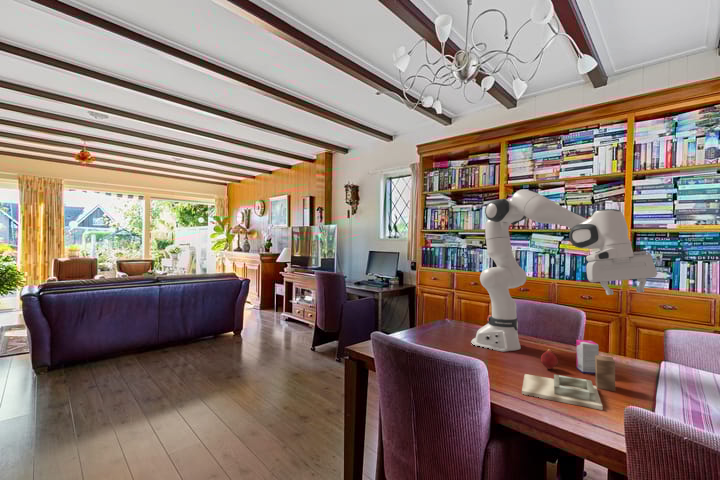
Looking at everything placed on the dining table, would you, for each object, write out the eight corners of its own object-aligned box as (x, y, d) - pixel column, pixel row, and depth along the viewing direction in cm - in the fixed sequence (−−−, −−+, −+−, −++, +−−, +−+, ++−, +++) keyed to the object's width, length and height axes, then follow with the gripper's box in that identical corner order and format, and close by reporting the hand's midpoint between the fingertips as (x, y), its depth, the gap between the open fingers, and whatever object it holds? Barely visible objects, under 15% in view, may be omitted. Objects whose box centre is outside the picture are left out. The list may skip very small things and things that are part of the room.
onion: (551, 373, 128) (551, 352, 128) (537, 368, 133) (537, 348, 133) (560, 370, 130) (560, 350, 131) (546, 365, 136) (546, 346, 136)
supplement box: (599, 374, 126) (599, 344, 126) (582, 373, 127) (581, 343, 127) (592, 368, 132) (591, 340, 132) (575, 367, 133) (575, 339, 133)
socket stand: (521, 394, 111) (521, 383, 111) (524, 377, 124) (524, 367, 124) (602, 410, 100) (602, 397, 100) (596, 389, 113) (595, 378, 113)
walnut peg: (597, 388, 114) (596, 359, 115) (595, 382, 119) (595, 355, 119) (615, 391, 112) (614, 361, 112) (612, 385, 116) (612, 357, 116)
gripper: (644, 251, 117) (653, 290, 114) (581, 257, 120) (588, 295, 118) (656, 249, 110) (666, 290, 108) (589, 255, 114) (598, 296, 111)
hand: (625, 293), depth 113 cm, fingers open, 8 cm apart
